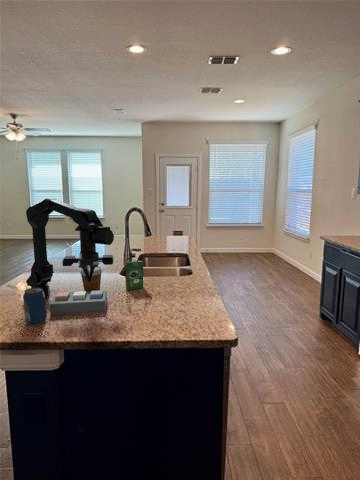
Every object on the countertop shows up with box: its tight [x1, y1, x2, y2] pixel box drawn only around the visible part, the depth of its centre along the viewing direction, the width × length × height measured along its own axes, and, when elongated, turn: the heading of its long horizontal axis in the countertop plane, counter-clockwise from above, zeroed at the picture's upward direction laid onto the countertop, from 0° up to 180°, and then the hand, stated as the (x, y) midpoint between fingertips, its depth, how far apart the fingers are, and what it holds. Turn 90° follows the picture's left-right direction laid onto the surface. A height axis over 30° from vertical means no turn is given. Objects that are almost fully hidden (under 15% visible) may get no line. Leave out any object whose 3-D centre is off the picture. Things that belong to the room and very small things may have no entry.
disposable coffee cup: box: [79, 265, 103, 292], centre depth 139 cm, size 10×10×12 cm
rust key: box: [54, 291, 70, 301], centre depth 124 cm, size 4×4×4 cm
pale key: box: [73, 291, 86, 300], centre depth 125 cm, size 4×4×4 cm
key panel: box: [49, 290, 108, 316], centre depth 125 cm, size 20×12×4 cm, turn 99°
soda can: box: [22, 287, 48, 326], centre depth 111 cm, size 7×7×12 cm
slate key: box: [90, 289, 104, 299], centre depth 126 cm, size 4×4×4 cm
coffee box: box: [125, 260, 145, 291], centre depth 147 cm, size 8×3×13 cm, turn 119°
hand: (89, 281), depth 124 cm, fingers closed
